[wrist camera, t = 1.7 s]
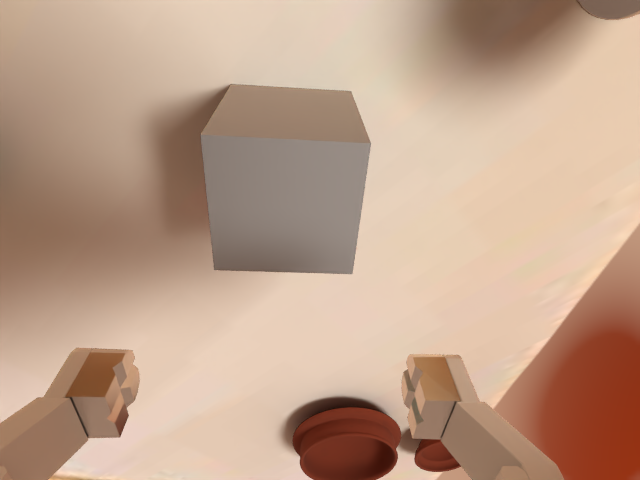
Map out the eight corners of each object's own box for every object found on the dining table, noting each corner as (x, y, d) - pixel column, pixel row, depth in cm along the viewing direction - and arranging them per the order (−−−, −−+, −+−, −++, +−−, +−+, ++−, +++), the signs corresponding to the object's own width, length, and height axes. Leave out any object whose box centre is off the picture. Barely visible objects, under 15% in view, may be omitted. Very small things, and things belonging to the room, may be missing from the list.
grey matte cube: (231, 84, 24) (200, 134, 17) (351, 91, 25) (370, 143, 18) (237, 192, 28) (214, 270, 21) (339, 196, 29) (352, 274, 22)
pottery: (303, 384, 41) (304, 425, 38) (483, 403, 44) (499, 443, 41) (285, 446, 48) (283, 485, 44) (442, 459, 51) (453, 497, 47)
